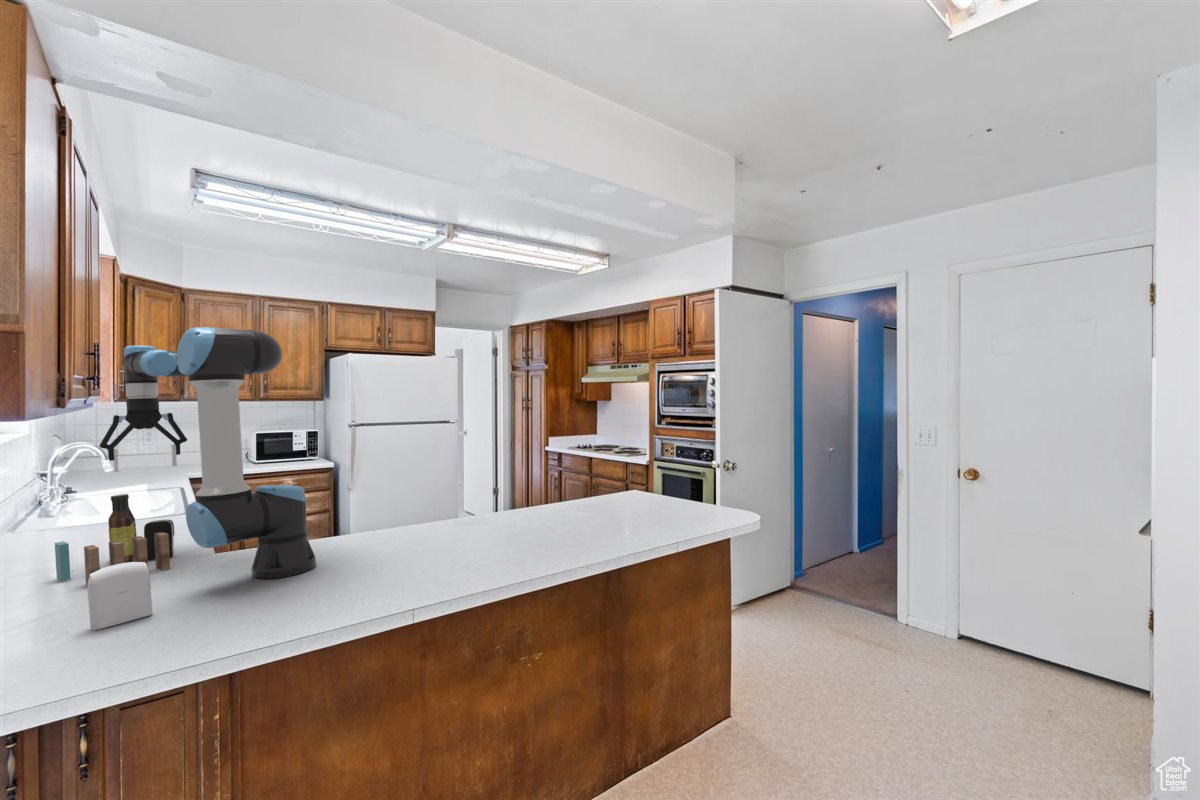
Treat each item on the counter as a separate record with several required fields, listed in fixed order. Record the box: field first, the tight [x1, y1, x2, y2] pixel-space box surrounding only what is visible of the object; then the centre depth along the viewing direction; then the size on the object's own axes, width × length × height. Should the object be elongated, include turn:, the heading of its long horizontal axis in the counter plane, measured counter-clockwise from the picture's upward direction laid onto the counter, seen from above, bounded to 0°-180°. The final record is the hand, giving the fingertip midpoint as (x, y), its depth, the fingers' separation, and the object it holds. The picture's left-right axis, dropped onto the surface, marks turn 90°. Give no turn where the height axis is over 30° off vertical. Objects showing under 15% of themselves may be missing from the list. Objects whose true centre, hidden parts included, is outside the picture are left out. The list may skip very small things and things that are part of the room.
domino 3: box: [108, 541, 125, 566], centre depth 150 cm, size 5×2×10 cm, turn 55°
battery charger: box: [143, 519, 176, 561], centre depth 170 cm, size 7×4×11 cm, turn 113°
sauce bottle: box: [107, 493, 138, 563], centre depth 169 cm, size 7×6×20 cm
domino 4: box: [132, 535, 149, 568], centre depth 154 cm, size 5×2×10 cm, turn 55°
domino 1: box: [54, 541, 72, 583], centre depth 152 cm, size 5×2×10 cm, turn 55°
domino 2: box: [83, 544, 101, 586], centre depth 146 cm, size 5×2×10 cm, turn 55°
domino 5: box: [154, 532, 171, 572], centre depth 158 cm, size 5×2×10 cm, turn 55°
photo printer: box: [86, 561, 153, 631], centre depth 120 cm, size 10×4×12 cm, turn 140°
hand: (146, 468), depth 168 cm, fingers open, 13 cm apart
